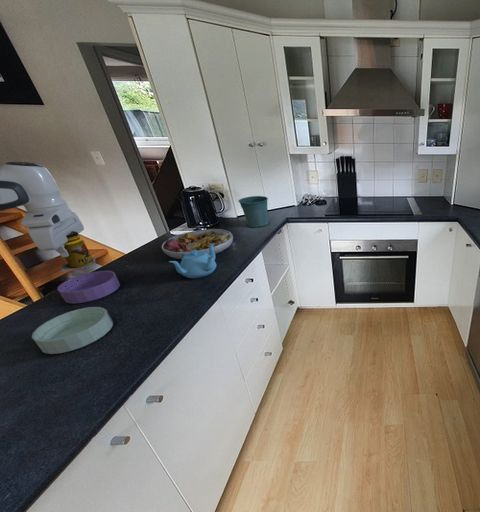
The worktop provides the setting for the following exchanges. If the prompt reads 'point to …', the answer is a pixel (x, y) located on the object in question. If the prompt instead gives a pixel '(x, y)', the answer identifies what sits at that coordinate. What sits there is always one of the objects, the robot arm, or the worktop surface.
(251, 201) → the flower pot
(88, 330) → the celadon bowl
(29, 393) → the worktop surface
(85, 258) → the condiment
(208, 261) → the teapot
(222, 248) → the bowl
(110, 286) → the lavender bowl
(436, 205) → the worktop surface
